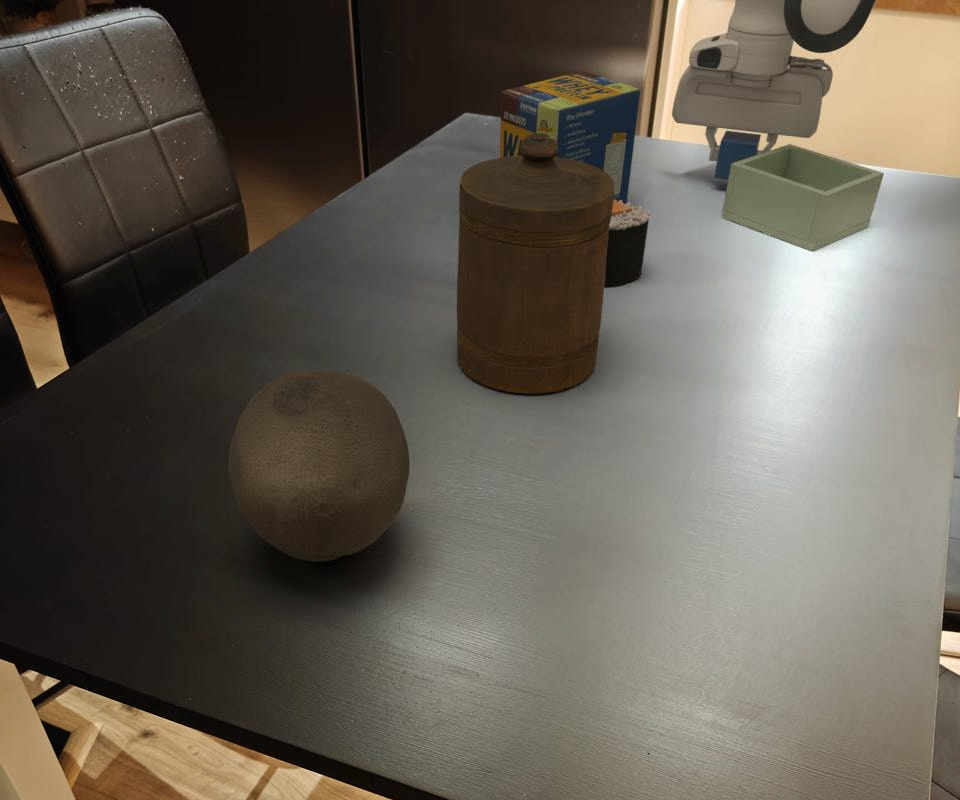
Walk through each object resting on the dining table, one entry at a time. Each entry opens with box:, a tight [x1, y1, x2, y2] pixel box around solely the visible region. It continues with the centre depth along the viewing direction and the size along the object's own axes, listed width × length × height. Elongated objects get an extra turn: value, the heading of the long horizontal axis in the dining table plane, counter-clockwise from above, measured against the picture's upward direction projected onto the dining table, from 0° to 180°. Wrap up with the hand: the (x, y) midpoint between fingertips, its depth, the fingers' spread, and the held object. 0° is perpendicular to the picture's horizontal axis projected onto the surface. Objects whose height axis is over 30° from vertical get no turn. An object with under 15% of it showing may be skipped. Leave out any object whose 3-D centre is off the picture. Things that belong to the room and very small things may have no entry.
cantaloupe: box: [228, 368, 410, 563], centre depth 71 cm, size 14×14×15 cm
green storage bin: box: [721, 143, 885, 252], centre depth 126 cm, size 15×13×7 cm
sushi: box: [604, 199, 651, 288], centre depth 113 cm, size 8×8×8 cm
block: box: [713, 130, 762, 181], centre depth 135 cm, size 5×5×5 cm
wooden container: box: [456, 133, 614, 395], centre depth 92 cm, size 15×15×22 cm
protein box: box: [499, 70, 642, 204], centre depth 124 cm, size 10×15×16 cm
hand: (735, 162), depth 135 cm, fingers closed on block, 5 cm apart
